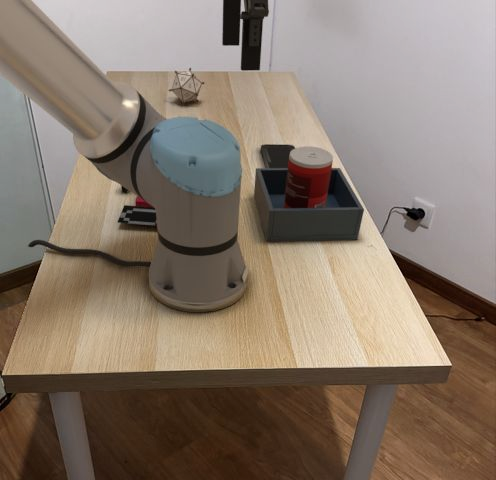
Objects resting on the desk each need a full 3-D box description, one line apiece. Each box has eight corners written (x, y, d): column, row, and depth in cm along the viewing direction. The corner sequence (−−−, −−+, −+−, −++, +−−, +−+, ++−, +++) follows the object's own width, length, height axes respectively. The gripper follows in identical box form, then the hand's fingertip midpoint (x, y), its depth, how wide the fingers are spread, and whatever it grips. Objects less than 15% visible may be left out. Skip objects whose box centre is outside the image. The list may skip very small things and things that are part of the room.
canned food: (323, 204, 103) (332, 148, 96) (324, 225, 97) (333, 166, 90) (284, 200, 104) (290, 144, 96) (282, 220, 98) (288, 162, 90)
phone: (293, 144, 124) (305, 172, 113) (293, 149, 124) (305, 177, 113) (259, 144, 123) (268, 172, 112) (259, 149, 123) (268, 177, 113)
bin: (266, 241, 94) (269, 210, 90) (253, 197, 106) (255, 168, 102) (357, 239, 96) (364, 209, 92) (334, 196, 108) (339, 167, 104)
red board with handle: (106, 226, 94) (192, 232, 95) (105, 212, 92) (192, 218, 93) (136, 158, 117) (205, 163, 117) (135, 145, 115) (205, 151, 115)
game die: (181, 117, 146) (156, 87, 139) (191, 97, 150) (168, 66, 143) (205, 107, 140) (181, 74, 134) (215, 86, 144) (192, 53, 137)
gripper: (304, -121, 60) (285, 81, 75) (252, -129, 78) (245, 36, 92) (240, -125, 59) (233, 82, 73) (201, -132, 77) (202, 36, 91)
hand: (239, 57), depth 83 cm, fingers open, 13 cm apart
